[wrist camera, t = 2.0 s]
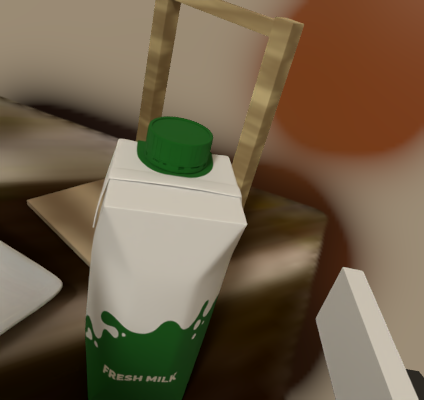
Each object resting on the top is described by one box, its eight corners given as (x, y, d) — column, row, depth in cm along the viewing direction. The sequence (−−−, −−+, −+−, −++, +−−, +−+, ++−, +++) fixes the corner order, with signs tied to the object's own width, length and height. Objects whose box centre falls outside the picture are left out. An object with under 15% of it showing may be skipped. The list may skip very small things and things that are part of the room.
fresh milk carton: (187, 321, 37) (244, 126, 27) (192, 418, 30) (274, 200, 19) (91, 314, 36) (112, 102, 25) (71, 415, 28) (89, 173, 18)
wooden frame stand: (122, 300, 38) (167, 12, 24) (27, 204, 46) (21, -48, 33) (237, 236, 50) (307, 24, 37) (145, 170, 59) (176, -22, 46)
